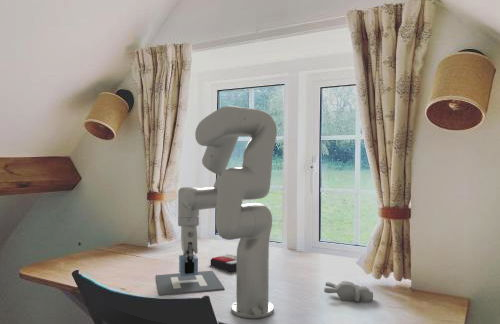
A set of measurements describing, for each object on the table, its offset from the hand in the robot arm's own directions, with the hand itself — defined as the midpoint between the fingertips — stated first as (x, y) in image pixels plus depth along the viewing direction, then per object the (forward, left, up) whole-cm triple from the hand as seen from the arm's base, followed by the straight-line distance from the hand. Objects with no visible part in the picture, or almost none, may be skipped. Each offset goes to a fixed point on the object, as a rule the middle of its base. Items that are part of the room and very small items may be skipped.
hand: (188, 270), depth 137 cm
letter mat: (0, 0, -5) cm, 5 cm away
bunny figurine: (-30, -48, -5) cm, 57 cm away
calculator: (+16, -20, -5) cm, 26 cm away
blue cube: (0, 0, -1) cm, 1 cm away
